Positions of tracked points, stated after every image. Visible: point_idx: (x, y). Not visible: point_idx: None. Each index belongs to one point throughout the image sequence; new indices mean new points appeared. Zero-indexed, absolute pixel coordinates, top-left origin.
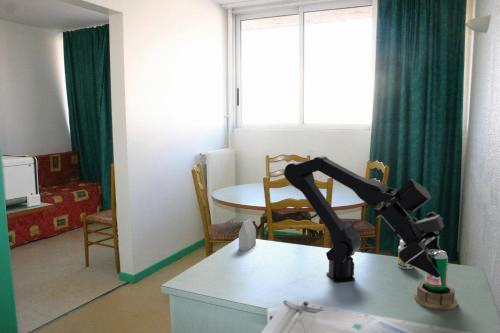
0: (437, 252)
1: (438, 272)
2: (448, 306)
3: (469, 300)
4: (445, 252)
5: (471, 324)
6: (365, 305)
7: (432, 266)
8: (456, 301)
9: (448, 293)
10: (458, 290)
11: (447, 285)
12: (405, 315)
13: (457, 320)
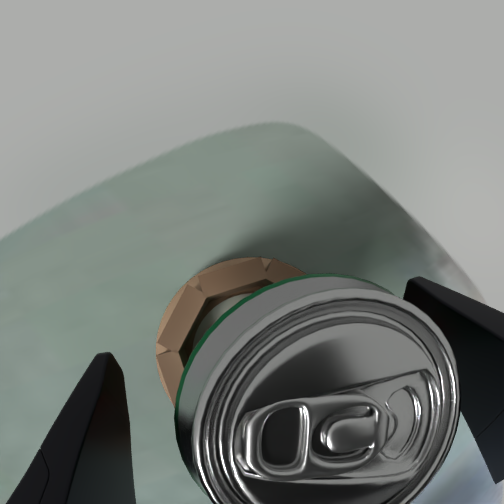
0: (365, 424)
1: (436, 285)
2: (298, 269)
3: (126, 248)
4: (263, 336)
5: (331, 172)
6: (458, 462)
7: (493, 315)
8: (218, 266)
9: (274, 280)
10: (61, 321)
11: (167, 331)
12: None
13: (344, 214)
